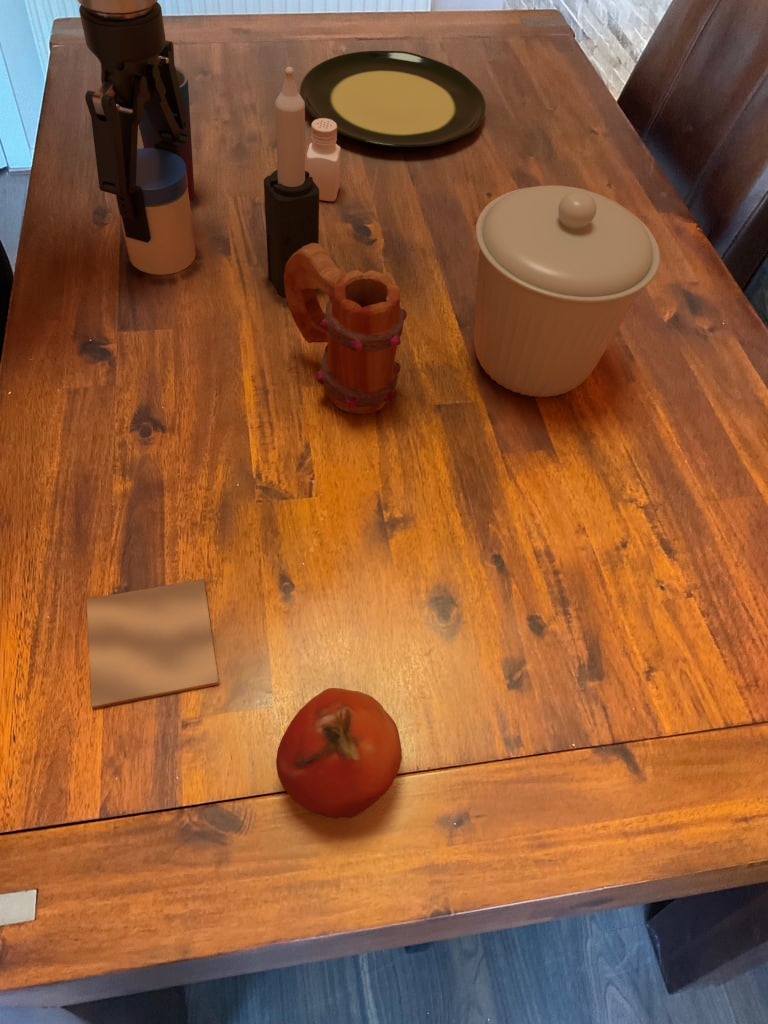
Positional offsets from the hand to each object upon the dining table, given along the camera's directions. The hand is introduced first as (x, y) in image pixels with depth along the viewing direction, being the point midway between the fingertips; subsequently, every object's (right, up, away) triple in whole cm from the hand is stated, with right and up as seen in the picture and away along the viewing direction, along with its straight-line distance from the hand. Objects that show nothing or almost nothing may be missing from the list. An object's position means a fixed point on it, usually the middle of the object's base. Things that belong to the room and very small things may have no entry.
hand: (156, 216), depth 93 cm
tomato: (+23, -55, -31) cm, 67 cm away
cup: (-1, +7, +12) cm, 14 cm away
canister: (+43, -18, -2) cm, 47 cm away
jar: (-1, -3, +4) cm, 5 cm away
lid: (0, +3, -5) cm, 6 cm away
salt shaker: (+18, +8, +14) cm, 25 cm away
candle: (+16, -7, +3) cm, 17 cm away
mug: (+22, -21, -6) cm, 30 cm away
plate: (+28, +27, +29) cm, 48 cm away
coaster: (+7, -45, -26) cm, 53 cm away
